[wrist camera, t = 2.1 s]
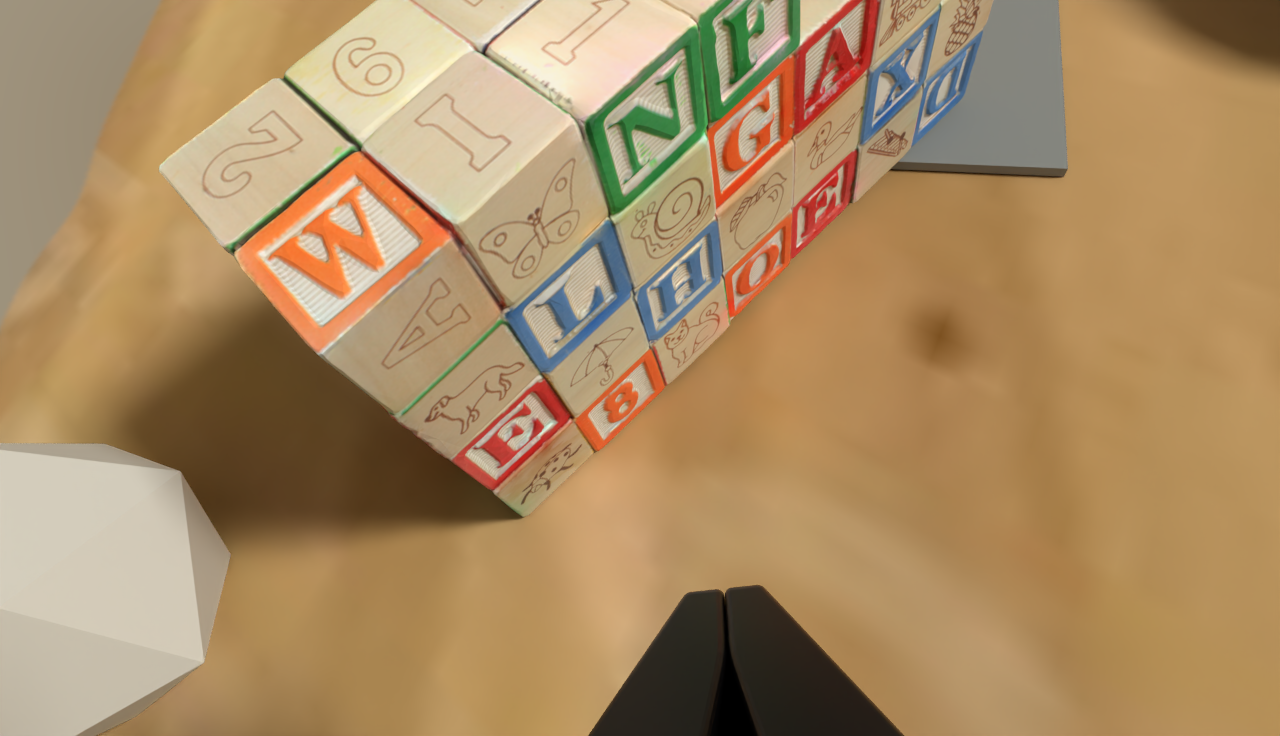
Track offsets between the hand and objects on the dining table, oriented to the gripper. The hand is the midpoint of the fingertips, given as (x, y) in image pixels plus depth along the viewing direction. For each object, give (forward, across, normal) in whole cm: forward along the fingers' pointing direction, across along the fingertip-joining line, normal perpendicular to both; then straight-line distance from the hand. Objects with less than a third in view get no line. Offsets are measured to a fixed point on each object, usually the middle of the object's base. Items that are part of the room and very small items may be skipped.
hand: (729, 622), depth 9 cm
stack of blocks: (+20, 0, -1) cm, 20 cm away
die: (+13, +18, +7) cm, 23 cm away
